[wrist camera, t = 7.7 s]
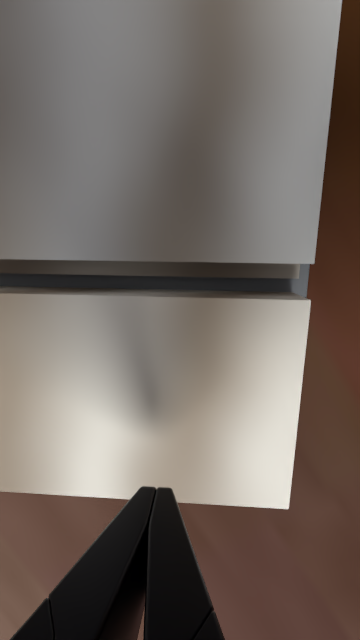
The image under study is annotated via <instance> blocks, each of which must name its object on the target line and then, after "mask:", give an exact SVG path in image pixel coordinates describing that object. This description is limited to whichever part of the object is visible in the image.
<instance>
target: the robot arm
mask: <svg viewBox="0 0 360 640" xmlns="http://www.w3.org/2000/svg"><path fill="white" fill-rule="evenodd" d="M144 606H145V614H144V639H143V640H225V638H224V636H223V633H222V630H221V627H220V625H219V622H218V619H217V616H216V613H215V612H214V608H213V605H212V602H211V599H210V596H209V593H208V591H207V588H206V585H205V582H204V579H203V576H202V573H201V570H200V567H199V565H198V562H197V559H196V556H195V553H194V550H193V547H192V544H191V541H190V539H189V536H188V533H187V530H186V527H185V524H184V521H183V518H182V515H181V513H180V510H179V507H178V504H177V501H176V498H175V495H174V492H173V490H172V488H169V487H158V488H157V489H156V488H155V487H152V486H142V487H140V488H139V489H138V491H137V492H136V493H135V494H134V495H133V496H132V498H131V499H130V500H129V501H128V502H127V504H126V505H125V506H124V507H123V508H122V509H121V511H120V512H119V513H118V514H117V515H116V517H115V518H114V519H113V520H112V521H111V522H110V524H109V525H108V526H107V527H106V528H105V529H104V531H103V532H102V533H101V534H100V535H99V537H98V538H97V539H96V540H95V541H94V542H93V544H92V545H91V546H90V547H89V548H88V549H87V551H86V552H85V553H84V554H83V555H82V557H81V558H80V559H79V560H78V561H77V562H76V564H75V565H74V566H73V567H72V568H71V570H70V571H69V572H68V573H67V574H66V575H65V577H64V578H63V579H62V580H61V581H60V582H59V584H58V585H57V586H56V587H55V588H54V590H53V591H52V592H51V593H50V594H49V598H46V599H45V600H44V601H43V602H42V603H41V605H40V606H39V607H38V608H37V609H36V610H35V612H34V613H33V614H32V615H31V616H30V617H29V619H28V620H27V621H26V622H25V623H24V624H23V625H22V626H21V628H20V629H19V630H18V631H17V632H16V633H15V634H14V635H13V637H12V638H11V639H10V640H137V638H138V633H139V629H140V624H141V619H142V615H143V610H144Z"/></svg>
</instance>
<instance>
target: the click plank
mask: <svg viewBox="0 0 360 640" xmlns="http://www.w3.org/2000/svg"><path fill="white" fill-rule="evenodd" d="M310 306H311V300H309V299H307V298H305V297H302V296H300V295H298V294H295V293H293V292H261V291H213V290H165V289H117V288H69V287H21V286H0V491H3V492H20V493H36V494H52V495H68V496H84V497H100V498H117V499H131V498H132V496H133V495H134V494H135V493H136V492H137V491H138V489H139V488H140V487H142V486H152V487H155V488H156V489H157V488H158V487H169V488H172V490H173V492H174V495H175V498H176V501H177V502H181V503H198V504H214V505H230V506H246V507H262V508H278V509H289V501H290V491H291V482H292V473H293V463H294V454H295V445H296V436H297V426H298V417H299V408H300V398H301V389H302V380H303V371H304V361H305V352H306V343H307V333H308V324H309V315H310Z"/></svg>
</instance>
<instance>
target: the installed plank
mask: <svg viewBox="0 0 360 640" xmlns="http://www.w3.org/2000/svg"><path fill="white" fill-rule="evenodd" d="M341 6H342V0H0V273H17V274H71V275H126V276H181V277H236V278H291V279H299V271H300V264H314V262H315V252H316V243H317V233H318V224H319V214H320V205H321V195H322V186H323V176H324V167H325V158H326V148H327V139H328V129H329V120H330V110H331V101H332V91H333V82H334V72H335V63H336V53H337V44H338V35H339V25H340V16H341Z"/></svg>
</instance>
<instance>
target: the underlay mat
mask: <svg viewBox="0 0 360 640" xmlns="http://www.w3.org/2000/svg"><path fill="white" fill-rule="evenodd" d="M309 266H310V264H300V271H299V279H291V278H236V277H181V276H126V275H71V274H17V273H0V286H21V287H69V288H117V289H165V290H213V291H261V292H293V293H295V294H298V295H300V296H302V297H305V298H306V295H307V286H308V276H309Z"/></svg>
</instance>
